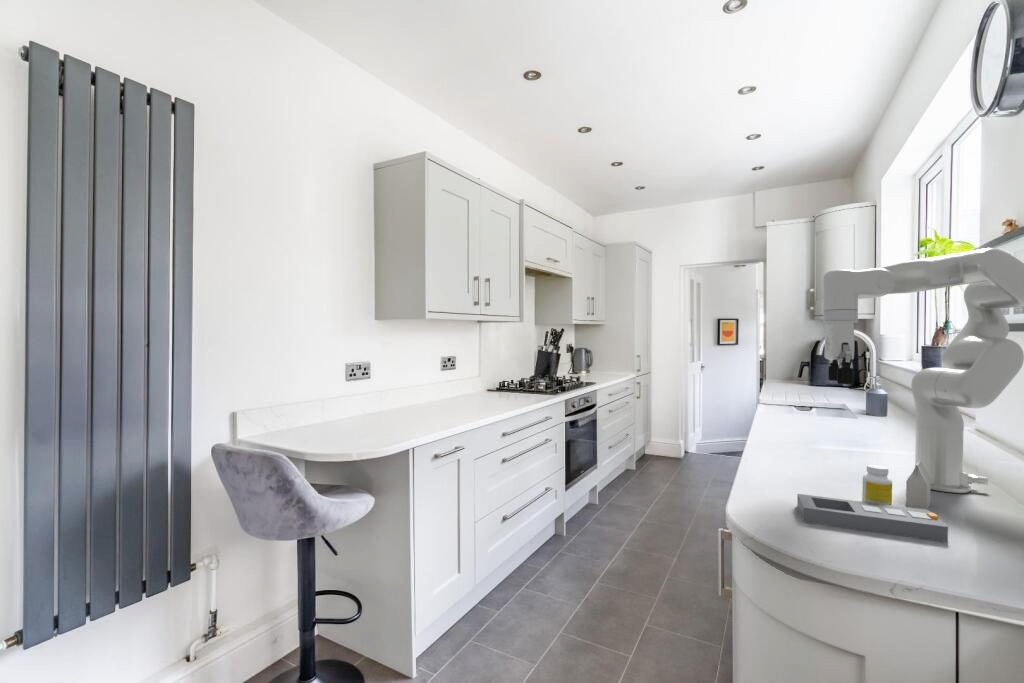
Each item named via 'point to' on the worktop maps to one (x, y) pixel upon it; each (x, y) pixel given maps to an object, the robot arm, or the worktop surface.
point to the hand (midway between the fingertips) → (840, 382)
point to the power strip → (872, 517)
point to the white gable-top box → (918, 488)
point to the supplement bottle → (877, 485)
